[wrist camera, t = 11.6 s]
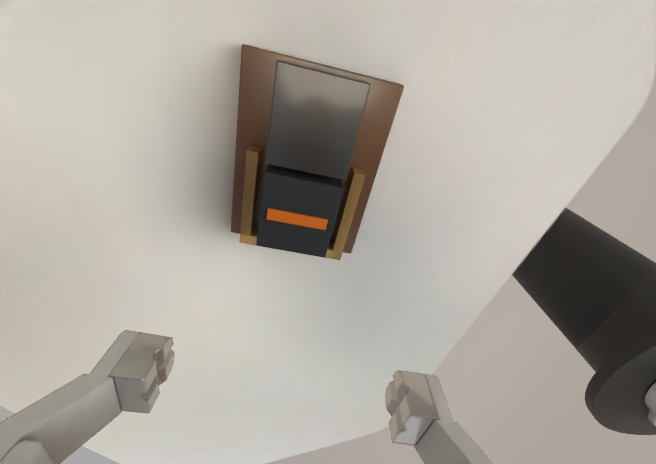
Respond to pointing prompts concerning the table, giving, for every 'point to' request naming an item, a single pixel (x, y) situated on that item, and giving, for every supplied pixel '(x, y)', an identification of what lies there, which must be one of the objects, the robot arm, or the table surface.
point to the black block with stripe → (298, 210)
